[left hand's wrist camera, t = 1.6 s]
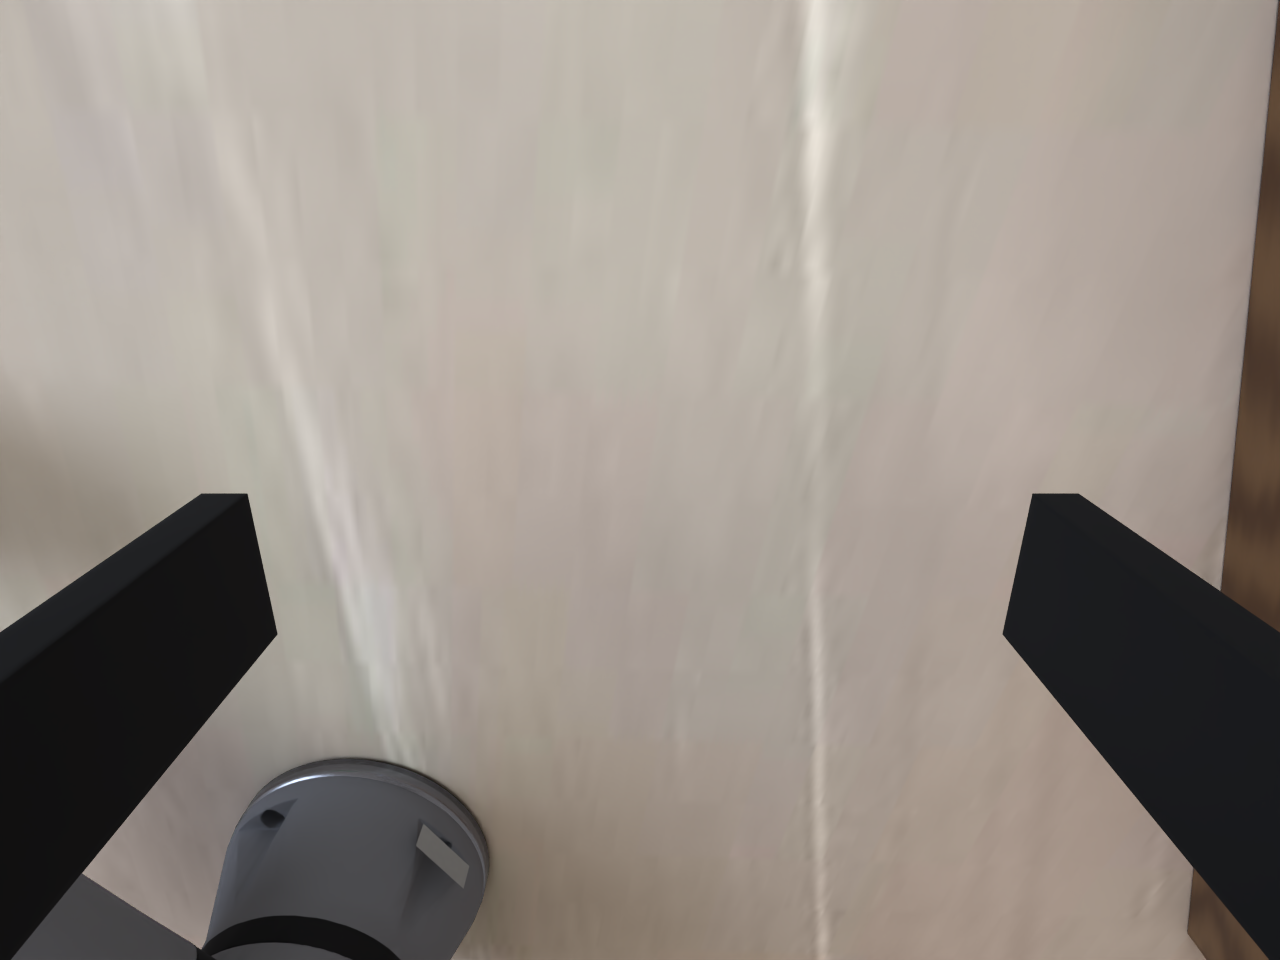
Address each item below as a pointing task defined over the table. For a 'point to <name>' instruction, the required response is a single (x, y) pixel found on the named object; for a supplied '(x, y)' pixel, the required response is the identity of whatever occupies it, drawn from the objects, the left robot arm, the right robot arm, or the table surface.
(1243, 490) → the bar
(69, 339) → the table surface
